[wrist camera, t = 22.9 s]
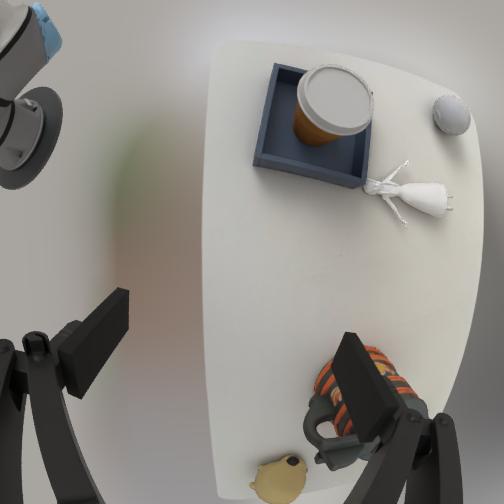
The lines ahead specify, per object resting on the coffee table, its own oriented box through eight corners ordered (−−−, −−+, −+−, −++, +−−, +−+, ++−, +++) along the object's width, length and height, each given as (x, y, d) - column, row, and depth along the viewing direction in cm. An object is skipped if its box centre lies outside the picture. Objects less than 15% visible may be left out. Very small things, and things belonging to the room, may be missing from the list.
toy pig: (284, 464, 48) (324, 473, 41) (255, 501, 39) (296, 516, 32) (268, 442, 46) (312, 452, 39) (234, 483, 37) (278, 501, 30)
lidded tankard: (286, 421, 42) (309, 504, 22) (289, 353, 41) (325, 436, 21) (379, 404, 43) (429, 465, 24) (392, 339, 42) (463, 391, 22)
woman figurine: (455, 235, 36) (367, 222, 36) (441, 235, 41) (356, 223, 41) (456, 169, 35) (369, 145, 35) (442, 173, 40) (359, 152, 40)
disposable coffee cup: (275, 103, 37) (289, 62, 25) (332, 99, 37) (362, 62, 25) (290, 161, 38) (312, 135, 26) (348, 153, 38) (387, 130, 26)
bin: (252, 165, 38) (254, 157, 34) (270, 77, 37) (274, 62, 32) (352, 189, 39) (365, 185, 35) (361, 103, 38) (372, 92, 34)
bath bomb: (429, 136, 39) (456, 125, 31) (421, 98, 39) (445, 84, 31) (456, 142, 40) (482, 133, 32) (448, 107, 39) (471, 95, 31)
